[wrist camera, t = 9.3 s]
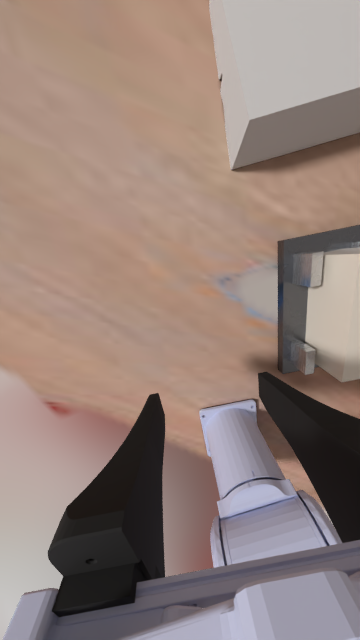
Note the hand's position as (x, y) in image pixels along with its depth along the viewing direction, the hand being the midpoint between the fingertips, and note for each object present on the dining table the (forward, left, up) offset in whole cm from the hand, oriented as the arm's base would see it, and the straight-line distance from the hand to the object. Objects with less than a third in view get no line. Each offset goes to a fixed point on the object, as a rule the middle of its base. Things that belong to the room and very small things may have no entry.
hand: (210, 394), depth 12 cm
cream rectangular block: (+1, -15, -8) cm, 17 cm away
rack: (+1, -15, -9) cm, 18 cm away
